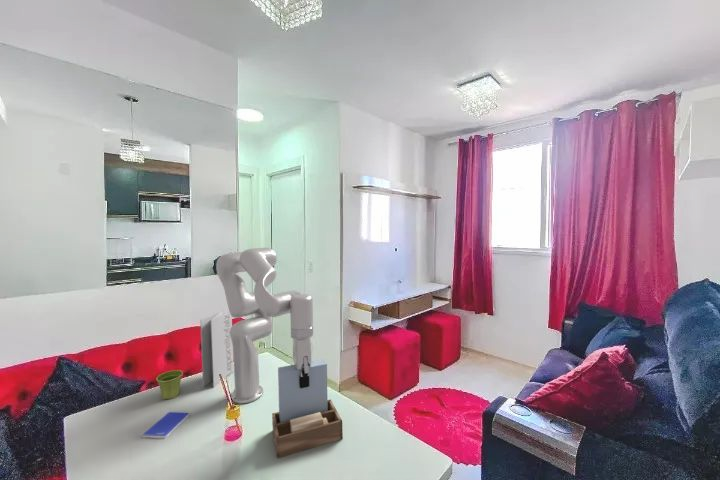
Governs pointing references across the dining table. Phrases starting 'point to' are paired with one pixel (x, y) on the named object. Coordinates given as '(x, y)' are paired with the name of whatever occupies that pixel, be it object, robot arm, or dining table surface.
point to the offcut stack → (307, 422)
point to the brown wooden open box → (306, 433)
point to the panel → (302, 391)
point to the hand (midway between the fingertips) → (303, 383)
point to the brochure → (216, 347)
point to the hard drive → (166, 425)
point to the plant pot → (170, 383)
